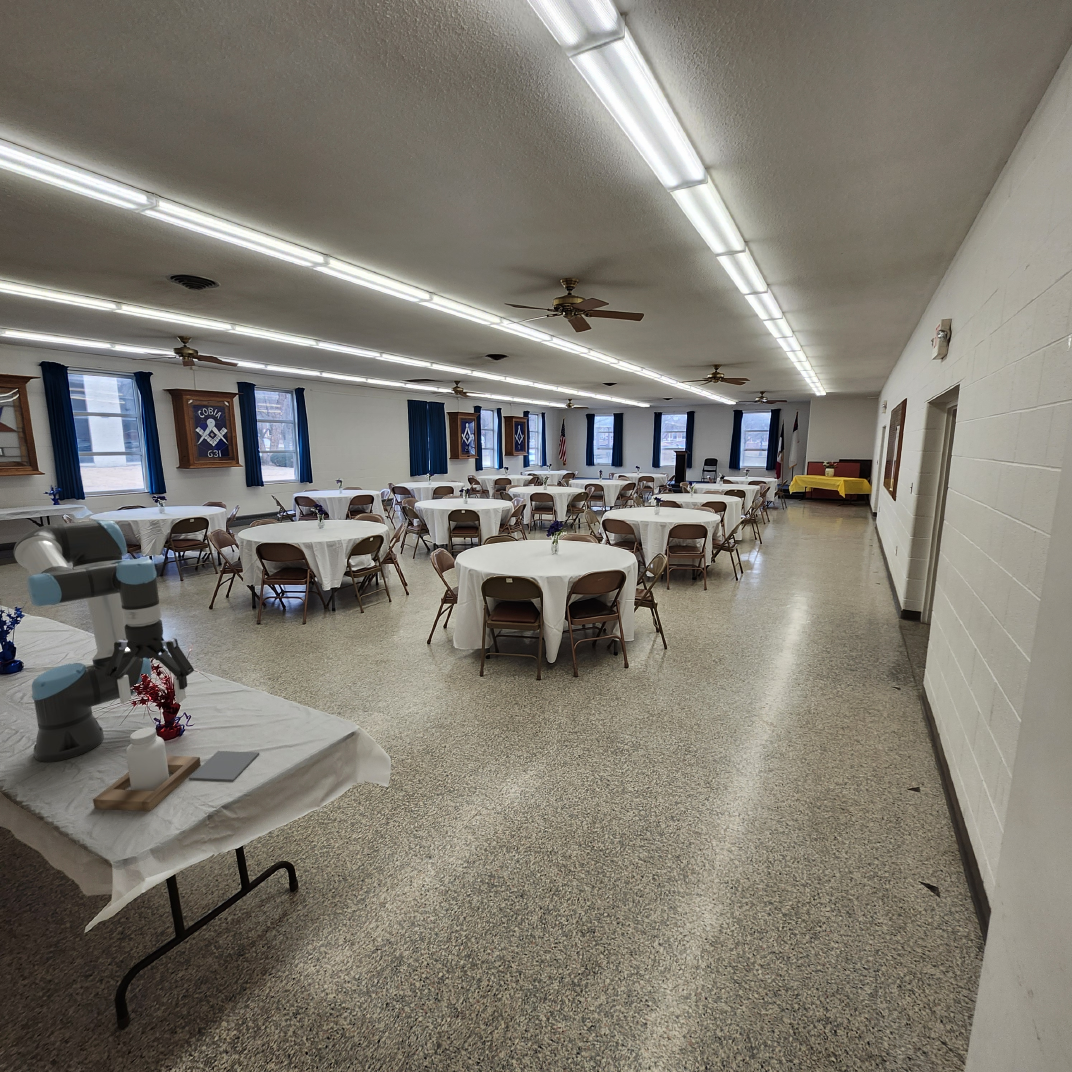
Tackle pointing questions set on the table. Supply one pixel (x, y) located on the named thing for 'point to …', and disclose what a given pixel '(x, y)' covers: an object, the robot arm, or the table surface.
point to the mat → (224, 766)
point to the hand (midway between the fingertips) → (153, 701)
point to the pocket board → (146, 800)
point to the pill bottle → (146, 760)
